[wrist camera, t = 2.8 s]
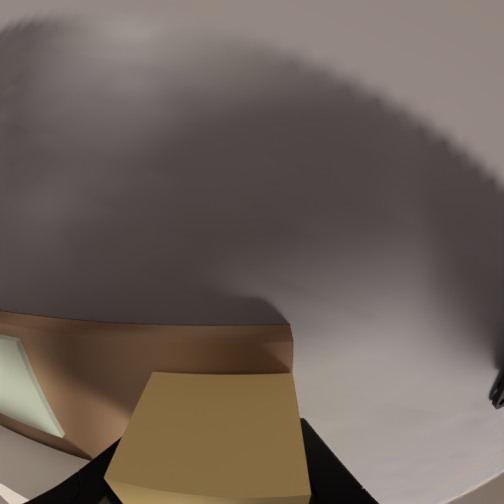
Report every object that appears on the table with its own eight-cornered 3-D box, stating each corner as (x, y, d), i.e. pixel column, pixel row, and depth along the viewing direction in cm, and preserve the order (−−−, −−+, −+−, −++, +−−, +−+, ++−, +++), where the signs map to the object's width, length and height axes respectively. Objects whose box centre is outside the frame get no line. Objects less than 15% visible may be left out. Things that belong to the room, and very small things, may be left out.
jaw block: (292, 372, 8) (311, 494, 4) (287, 454, 9) (295, 548, 5) (152, 371, 8) (103, 477, 4) (177, 452, 9) (155, 540, 5)
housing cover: (92, 461, 9) (66, 517, 6) (132, 514, 11) (118, 558, 7) (-2, 424, 10) (-31, 461, 6) (43, 483, 11) (24, 517, 8)
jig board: (289, 324, 9) (305, 401, 5) (279, 511, 12) (281, 558, 9) (-43, 303, 9) (-85, 329, 6) (44, 470, 12) (26, 501, 9)
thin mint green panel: (20, 338, 8) (15, 342, 8) (64, 433, 9) (62, 437, 9) (-40, 323, 8) (-44, 326, 8) (-2, 407, 9) (-5, 410, 9)
